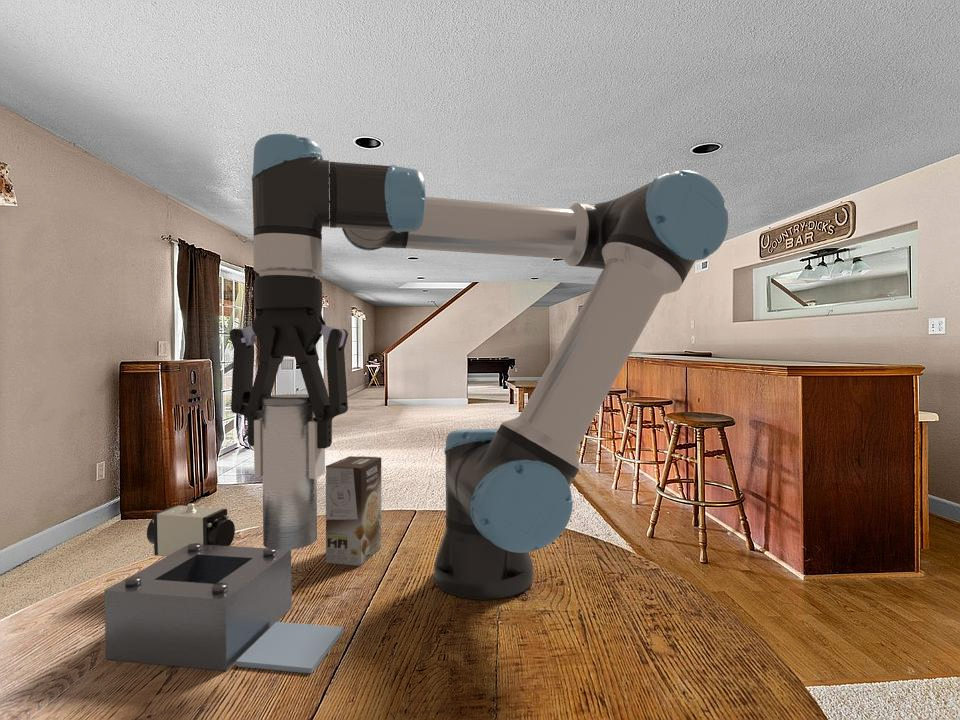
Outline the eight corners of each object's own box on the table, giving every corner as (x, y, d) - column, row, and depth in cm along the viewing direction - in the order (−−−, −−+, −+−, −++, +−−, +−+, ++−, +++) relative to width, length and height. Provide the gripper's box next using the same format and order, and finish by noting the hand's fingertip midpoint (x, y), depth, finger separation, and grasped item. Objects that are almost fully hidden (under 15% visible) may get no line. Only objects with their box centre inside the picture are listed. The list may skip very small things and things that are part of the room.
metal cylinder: (325, 533, 69) (324, 394, 69) (302, 551, 63) (301, 399, 63) (279, 530, 70) (278, 393, 70) (252, 548, 64) (251, 398, 64)
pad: (343, 631, 71) (343, 627, 71) (311, 673, 62) (311, 668, 62) (276, 626, 72) (276, 621, 72) (235, 666, 64) (235, 661, 64)
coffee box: (361, 567, 91) (360, 468, 91) (324, 563, 93) (324, 466, 92) (382, 546, 100) (382, 456, 100) (348, 544, 102) (348, 454, 101)
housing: (291, 607, 77) (291, 545, 77) (226, 671, 63) (225, 594, 62) (191, 599, 80) (190, 539, 79) (105, 659, 65) (104, 585, 65)
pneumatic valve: (216, 593, 82) (215, 511, 81) (146, 586, 84) (144, 506, 84) (240, 577, 87) (239, 500, 87) (173, 571, 90) (172, 495, 89)
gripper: (377, 279, 68) (378, 470, 69) (231, 280, 71) (234, 464, 72) (354, 271, 61) (355, 486, 61) (192, 273, 63) (195, 479, 64)
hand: (290, 474), depth 67 cm, fingers closed on metal cylinder, 6 cm apart
